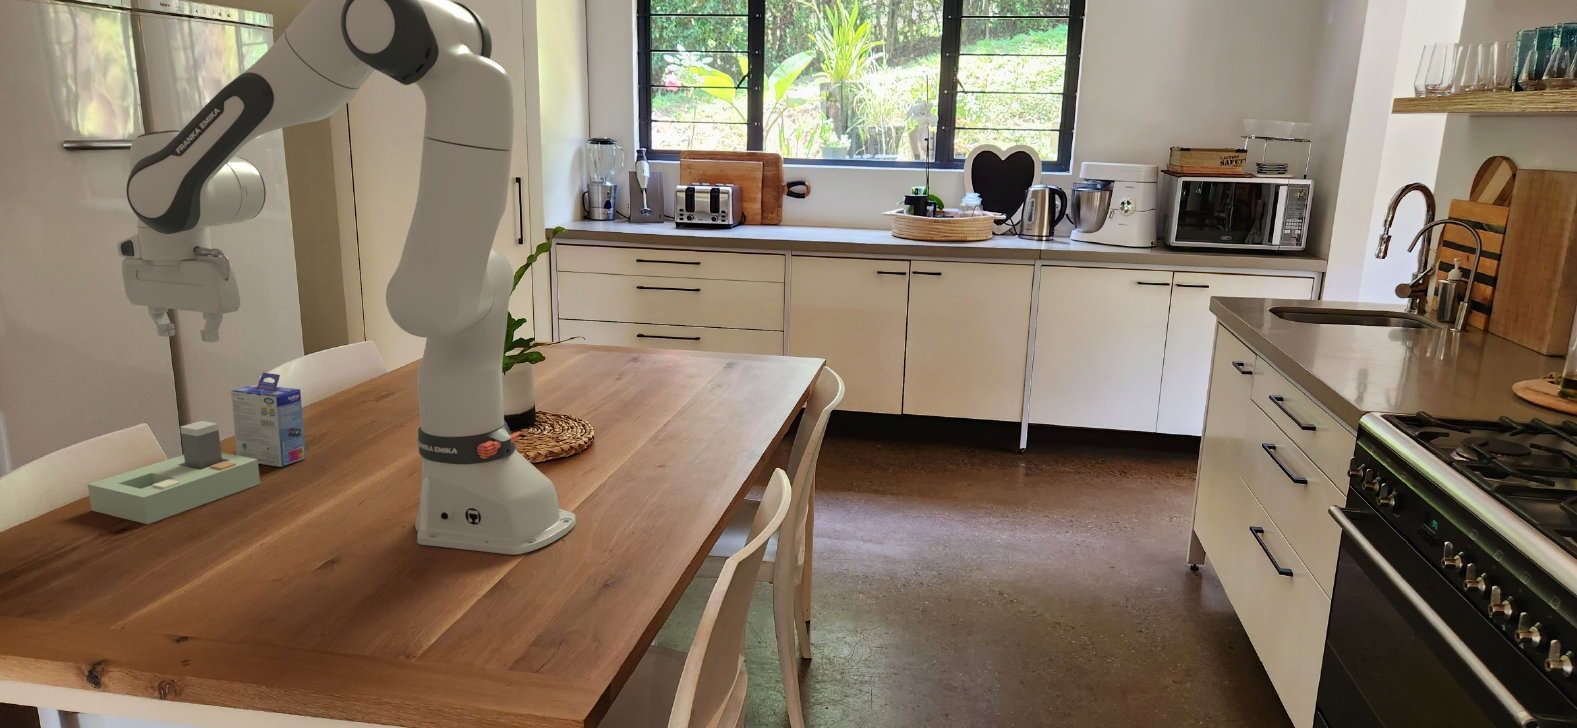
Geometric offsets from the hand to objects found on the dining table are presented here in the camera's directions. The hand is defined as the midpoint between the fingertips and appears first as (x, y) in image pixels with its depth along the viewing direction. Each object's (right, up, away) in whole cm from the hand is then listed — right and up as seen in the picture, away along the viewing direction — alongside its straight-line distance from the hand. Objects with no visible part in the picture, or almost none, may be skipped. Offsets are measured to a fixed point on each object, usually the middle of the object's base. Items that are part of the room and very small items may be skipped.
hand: (188, 338), depth 147 cm
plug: (0, -23, +5) cm, 23 cm away
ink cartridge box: (+3, -20, +18) cm, 27 cm away
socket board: (-2, -24, +1) cm, 24 cm away
